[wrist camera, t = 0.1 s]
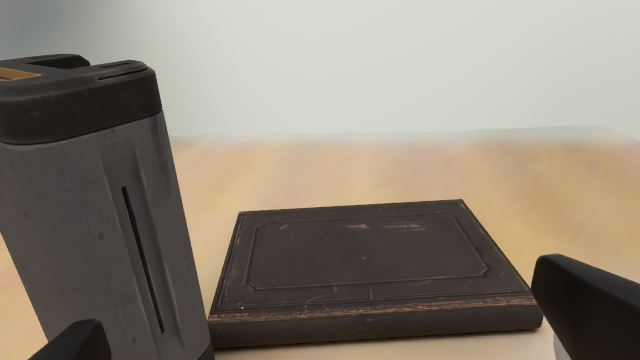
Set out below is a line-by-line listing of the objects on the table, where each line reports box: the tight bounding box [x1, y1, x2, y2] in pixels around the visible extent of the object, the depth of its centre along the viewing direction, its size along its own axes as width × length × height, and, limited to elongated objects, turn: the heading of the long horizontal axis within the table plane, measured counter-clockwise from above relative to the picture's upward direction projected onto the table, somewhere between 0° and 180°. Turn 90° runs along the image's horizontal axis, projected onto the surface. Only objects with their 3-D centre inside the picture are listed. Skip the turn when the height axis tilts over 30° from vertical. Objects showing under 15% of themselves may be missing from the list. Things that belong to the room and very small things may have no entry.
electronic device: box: [0, 54, 215, 360], centre depth 21 cm, size 9×6×20 cm, turn 54°
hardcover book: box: [207, 199, 544, 348], centre depth 35 cm, size 16×23×2 cm
